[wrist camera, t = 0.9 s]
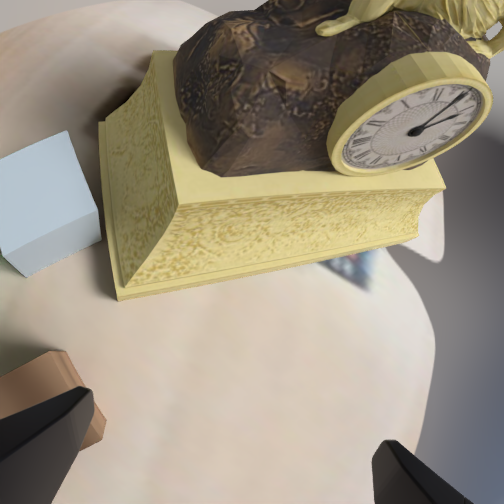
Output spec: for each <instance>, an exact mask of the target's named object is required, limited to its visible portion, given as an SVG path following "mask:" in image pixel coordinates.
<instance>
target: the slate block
mask: <svg viewBox="0 0 504 504" xmlns="http://www.w3.org/2000/svg"><path fill="white" fill-rule="evenodd" d="M101 240H102V239H101V232H100V224H99V216H98V209H97V207H96V204H95V202H94V200H93V197H92V195H91V192H90V190H89V187H88V185H87V182H86V180H85V177H84V175H83V172H82V170H81V167H80V165H79V162H78V159H77V157H76V154H75V151H74V148H73V146H72V143H71V140H70V137H69V134H68V131H67V130H66V131H63V132H61V133H58V134H56V135H53V136H51V137H48V138H46V139H44V140H41V141H39V142H37V143H34V144H32V145H30V146H27V147H25V148H23V149H21V150H19V151H16V152H14V153H12V154H10V155H8V156H6V157H4V158H2V159H0V248H1V251H2V255H3V257H4V258H5V259H6V260H7V261H8V262H9V263H11V264H12V265H13V266H14V267H15V268H16V269H17V270H18V271H19V272H20V273H22V274H23V275H24V276H25V277H26V278H27V277H29V276H31V275H33V274H34V273H36V272H38V271H40V270H42V269H44V268H46V267H48V266H50V265H52V264H54V263H56V262H58V261H60V260H62V259H64V258H66V257H68V256H70V255H72V254H74V253H76V252H78V251H80V250H82V249H84V248H86V247H88V246H90V245H92V244H94V243H96V242H99V241H101Z"/></svg>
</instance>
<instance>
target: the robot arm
mask: <svg viewBox="0 0 504 504" xmlns="http://www.w3.org/2000/svg"><path fill="white" fill-rule="evenodd" d="M94 411H95V407H94V398H93V392H92V390H91V389H89V388H86V387H83V386H77V387H75V388H73V389H71V390H68V391H66V392H64V393H61V394H59V395H57V396H55V397H52V398H50V399H48V400H45V401H43V402H41V403H38V404H36V405H34V406H31V407H29V408H26V409H24V410H22V411H19V412H17V413H14V414H12V415H9V416H7V417H4V418H2V419H0V504H51V503H52V501H53V499H54V497H55V495H56V493H57V491H58V490H59V488H60V486H61V484H62V482H63V480H64V478H65V477H66V475H67V473H68V471H69V469H70V467H71V465H72V464H73V462H74V460H75V458H76V456H77V454H78V452H79V450H80V448H81V445H82V443H83V440H84V438H85V435H86V433H87V430H88V428H89V425H90V423H91V420H92V418H93V416H94ZM372 473H373V488H374V501H375V504H474V503H472V502H471V501H470V500H468V499H467V498H466V497H465V498H464V496H463V495H462V494H461V493H459V492H458V491H457V490H456V489H454V488H453V487H452V486H451V485H450V484H448V483H447V482H446V481H445V480H443V479H442V478H441V477H440V476H438V475H437V474H436V473H435V472H434V471H432V470H431V469H430V468H429V467H427V466H426V465H425V464H424V463H423V462H422V461H420V460H419V459H418V458H417V457H415V456H414V455H413V454H412V453H411V452H410V451H408V450H407V449H406V448H405V447H404V446H403V445H401V444H400V443H399V442H398V441H397V440H384V441H383V442H382V443H381V444H380V446H379V447H378V449H377V451H376V452H375V454H374V455H373V458H372Z"/></svg>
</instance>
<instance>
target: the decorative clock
mask: <svg viewBox="0 0 504 504" xmlns="http://www.w3.org/2000/svg"><path fill="white" fill-rule="evenodd" d="M498 21H499V22H500V23H501V24H502V26H503V27H502V29H501V30H500V32H499V33H498V34H497V35H496V36H495V37H494V38H492V39H491V40H488V39H487V37H486V35H485V34H486V30H488V29H489V28H491V27H492V26H493V25H494V24H496V23H497V22H498ZM503 50H504V0H269V1H267V2H266V3H264V4H263V5H261V6H260V7H258V8H257V9H255V10H248V11H231V12H228V13H226V14H224V15H222V16H220V17H218V18H216V19H214V20H212V21H210V22H208V23H206V24H205V25H204V26H203V27H202V28H201V29H200V30H198V31H197V32H196V33H195V34H194V35H193V36H192V37H191V38H190V39H188V40H187V41H186V42H184V43H183V44H182V45H181V46H180V48H179V50H178V51H153V53H152V57H151V62H150V66H149V69H148V71H147V73H146V75H145V77H144V79H143V81H142V84H141V86H140V87H139V88H138V89H137V90H136V91H135V92H134V94H133V95H132V96H131V97H130V98H129V100H128V101H127V102H126V103H124V104H123V105H122V106H120V107H119V108H118V109H116V110H115V111H114V112H113V113H111V114H110V115H109V116H108V117H106V121H103V122H99V158H100V174H101V187H102V198H103V208H104V217H105V225H106V233H107V241H108V248H109V255H110V261H111V267H112V273H113V279H114V284H115V290H116V295H117V300H118V301H123V300H129V299H134V298H140V297H145V296H150V295H156V294H161V293H166V292H172V291H177V290H182V289H187V288H192V287H198V286H203V285H208V284H213V283H218V282H223V281H228V280H233V279H238V278H243V277H248V276H253V275H257V274H262V273H267V272H272V271H277V270H281V269H286V268H291V267H296V266H300V265H305V264H310V263H314V262H319V261H324V260H328V259H333V258H337V257H342V256H346V255H351V254H355V253H360V252H364V251H369V250H373V249H378V248H382V247H387V246H391V245H396V244H400V243H404V242H407V241H409V240H412V239H414V238H416V237H418V236H419V234H418V216H419V214H420V212H421V210H422V208H423V205H424V204H425V203H426V202H427V201H428V200H429V199H430V198H432V197H433V196H434V195H435V194H437V193H439V192H441V191H442V190H444V189H446V187H445V184H444V181H443V179H442V177H441V175H440V172H439V170H438V168H437V166H436V163H435V162H434V159H433V158H434V157H436V156H438V155H440V154H442V153H444V152H446V151H447V150H449V149H451V148H452V147H454V146H455V145H457V144H459V143H460V142H461V141H463V140H464V139H465V138H467V137H468V136H469V135H470V134H472V133H473V132H474V131H475V130H476V129H477V128H478V127H479V126H480V125H481V124H482V122H483V121H484V120H485V119H486V117H487V116H488V114H489V112H490V110H491V107H492V103H493V96H492V92H491V89H490V88H489V86H488V85H487V83H486V78H487V74H488V70H489V66H490V58H491V57H493V56H495V55H496V54H498V53H500V52H501V51H503Z"/></svg>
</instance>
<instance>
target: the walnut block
mask: <svg viewBox="0 0 504 504" xmlns="http://www.w3.org/2000/svg"><path fill="white" fill-rule="evenodd" d="M77 386H83V387H85V385H84V383H83V382H82V380H81V378H80V376H79V375H78V373H77V371H76V369H75V367H74V366H73V364H72V362H71V360H70V358H69V356H68V354H67V352H63V351H48V352H47V353H45V354H43V355H41V356H39V357H37V358H35V359H33V360H31V361H30V362H28V363H26V364H24V365H22V366H20V367H18V368H16V369H14V370H13V371H11V372H9V373H7V374H5V375H3V376H1V377H0V419H2V418H4V417H7V416H9V415H12V414H14V413H17V412H19V411H22V410H24V409H26V408H29V407H31V406H34V405H36V404H38V403H41V402H43V401H45V400H48V399H50V398H52V397H55V396H57V395H59V394H61V393H64V392H66V391H68V390H71V389H73V388H75V387H77ZM94 407H95V411H94V416H93V418H92V420H91V423H90V425H89V428H88V430H87V433H86V435H85V438H84V440H83V443H82V445H81V448H80V450H79V451H81V450H83V449H85V448H87V447H89V446H91V445H93V444H95V443H97V442H99V441H101V440H102V438H103V433H104V429H105V425H106V419H105V417H104V416H103V414H102V413H101V411H100V410H99V408H98V406H97V405H96V403H95V402H94Z"/></svg>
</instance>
